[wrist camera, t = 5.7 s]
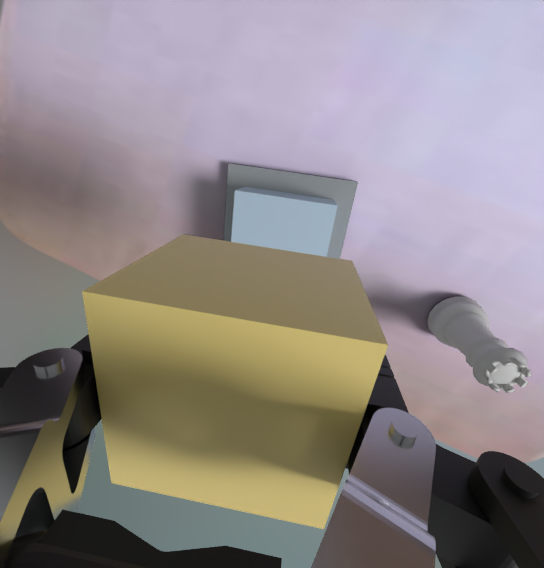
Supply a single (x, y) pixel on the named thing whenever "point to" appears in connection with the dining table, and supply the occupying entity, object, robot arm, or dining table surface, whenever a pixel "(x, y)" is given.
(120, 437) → the mustard block
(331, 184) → the baseplate
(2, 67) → the dining table surface
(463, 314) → the rook chess piece
